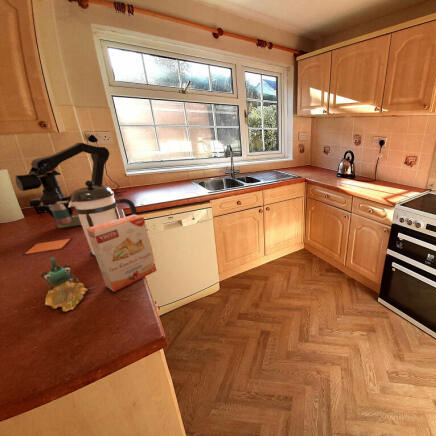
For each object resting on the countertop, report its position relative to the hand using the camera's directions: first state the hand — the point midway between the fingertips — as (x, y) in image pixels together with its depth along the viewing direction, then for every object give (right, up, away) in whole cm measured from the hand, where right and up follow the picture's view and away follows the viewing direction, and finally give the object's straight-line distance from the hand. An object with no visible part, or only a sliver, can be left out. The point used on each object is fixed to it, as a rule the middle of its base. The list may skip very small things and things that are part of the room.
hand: (63, 216), depth 121 cm
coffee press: (+41, -15, -20) cm, 48 cm away
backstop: (-1, -5, +7) cm, 8 cm away
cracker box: (+60, -22, -38) cm, 74 cm away
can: (0, -3, +1) cm, 3 cm away
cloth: (+8, -13, -15) cm, 22 cm away
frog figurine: (+45, -25, -46) cm, 69 cm away
